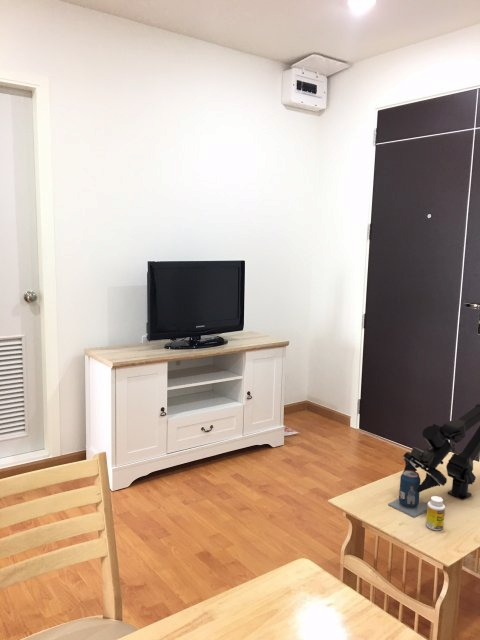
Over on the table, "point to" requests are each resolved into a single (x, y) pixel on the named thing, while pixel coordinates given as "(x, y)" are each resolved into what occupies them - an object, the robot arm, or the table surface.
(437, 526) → the supplement bottle
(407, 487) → the soda can
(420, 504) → the coaster
